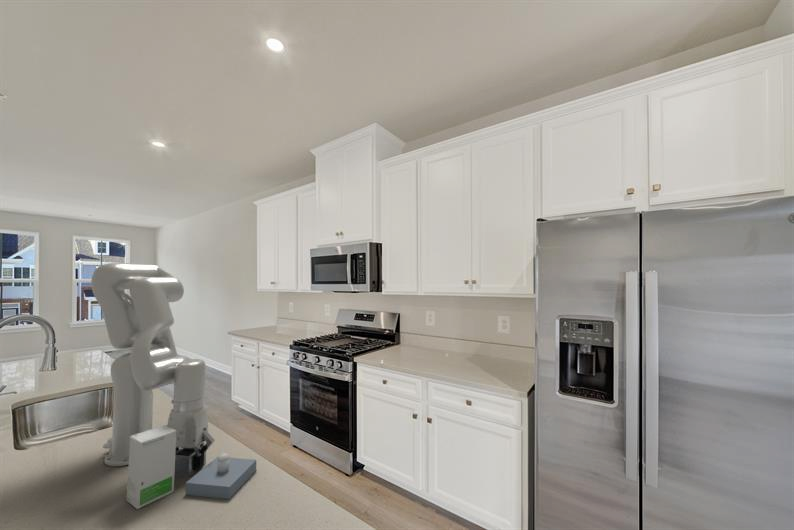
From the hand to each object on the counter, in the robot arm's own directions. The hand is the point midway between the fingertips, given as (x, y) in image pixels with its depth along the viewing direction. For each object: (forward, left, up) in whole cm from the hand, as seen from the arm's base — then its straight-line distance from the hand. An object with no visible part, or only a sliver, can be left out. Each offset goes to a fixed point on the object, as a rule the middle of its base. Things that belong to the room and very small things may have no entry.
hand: (187, 466), depth 93 cm
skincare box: (0, -11, -1) cm, 12 cm away
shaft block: (+14, -4, -1) cm, 15 cm away
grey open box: (0, 0, -1) cm, 1 cm away
